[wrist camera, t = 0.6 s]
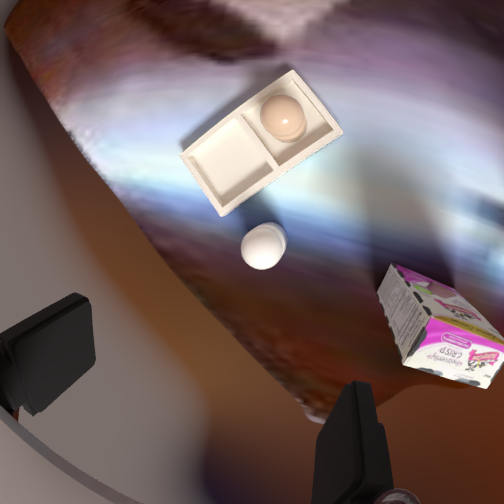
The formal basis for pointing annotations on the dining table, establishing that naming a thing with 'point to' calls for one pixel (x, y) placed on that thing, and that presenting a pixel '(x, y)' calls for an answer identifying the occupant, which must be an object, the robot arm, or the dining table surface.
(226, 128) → the caddy
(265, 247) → the white egg
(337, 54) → the dining table surface
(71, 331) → the robot arm
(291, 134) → the brown egg
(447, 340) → the candy bar box
